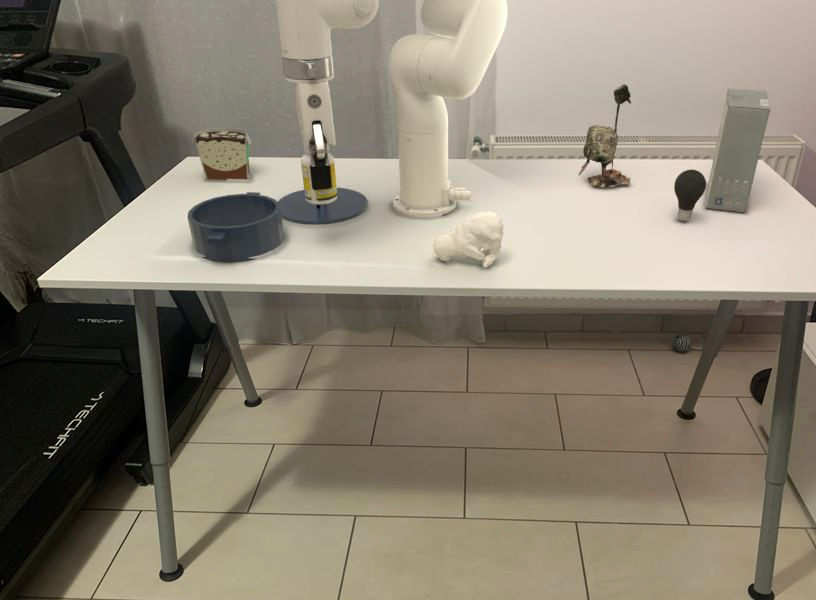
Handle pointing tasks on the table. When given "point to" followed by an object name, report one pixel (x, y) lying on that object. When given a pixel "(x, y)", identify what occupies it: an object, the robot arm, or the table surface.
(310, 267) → the table surface
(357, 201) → the lid
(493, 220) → the white lumpy rounded piece
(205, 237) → the pot
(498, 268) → the table surface
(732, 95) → the hard drive box
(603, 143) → the bird figurine
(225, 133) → the food container
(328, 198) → the supplement bottle
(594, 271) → the table surface
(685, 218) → the light bulb
